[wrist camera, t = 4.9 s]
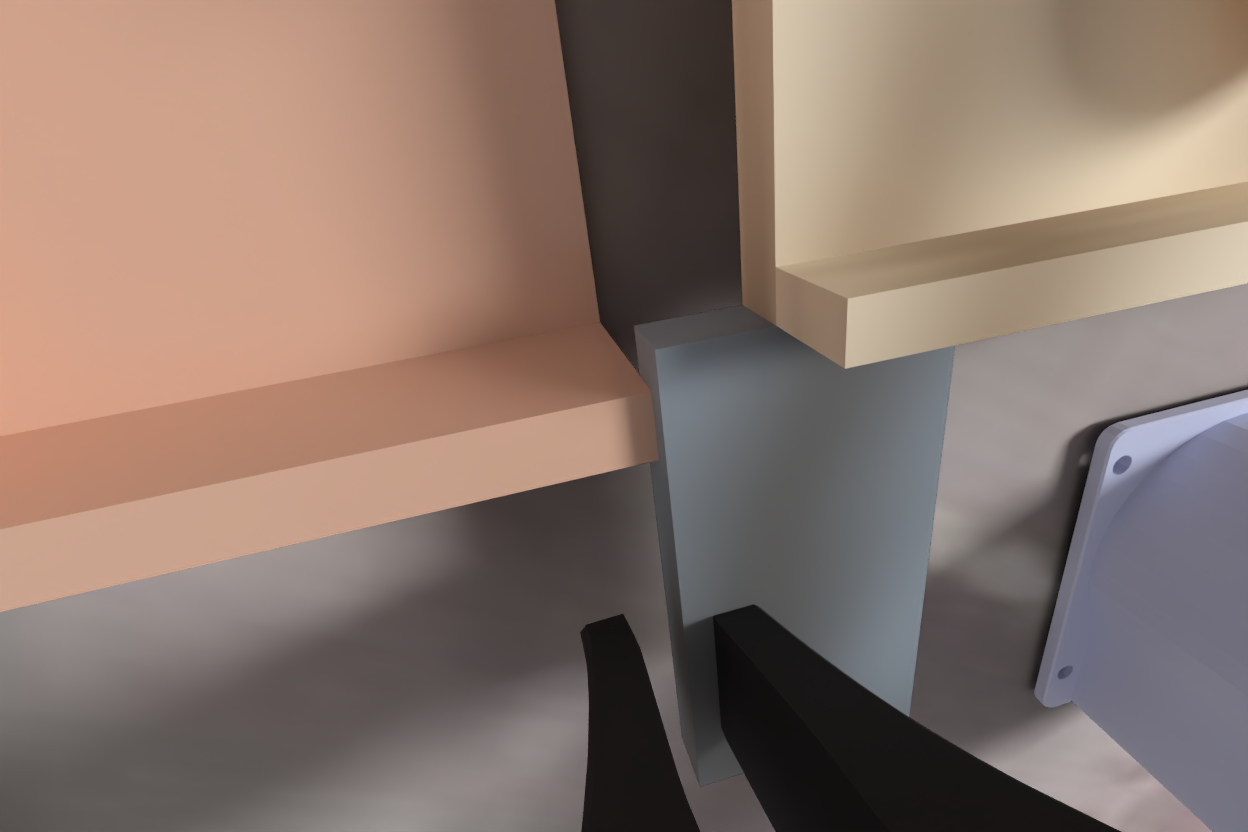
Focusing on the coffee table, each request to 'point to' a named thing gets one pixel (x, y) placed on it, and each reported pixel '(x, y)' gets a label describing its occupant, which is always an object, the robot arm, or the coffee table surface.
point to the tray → (286, 279)
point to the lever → (914, 286)
